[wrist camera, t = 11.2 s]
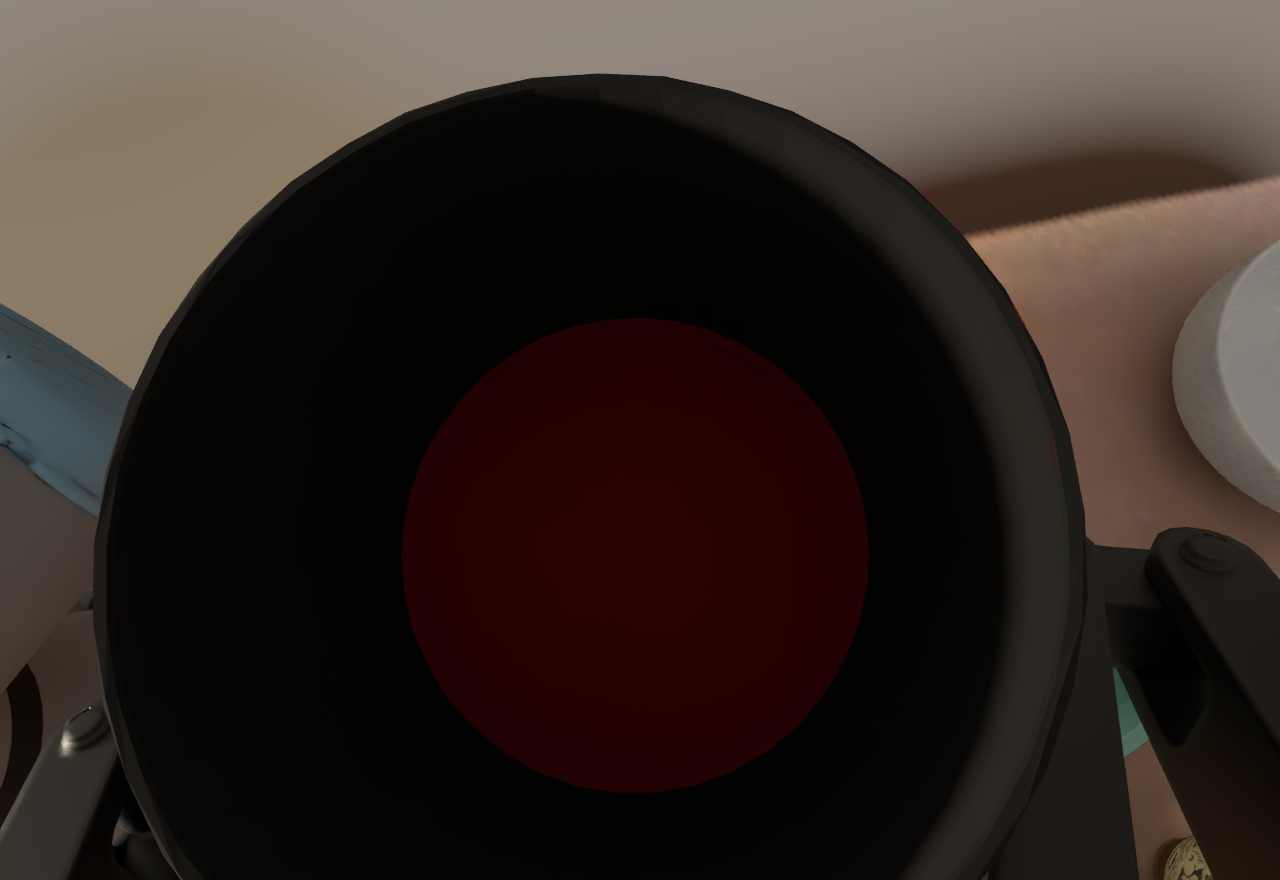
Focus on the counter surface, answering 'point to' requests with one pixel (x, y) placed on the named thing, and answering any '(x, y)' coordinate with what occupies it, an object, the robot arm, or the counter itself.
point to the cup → (1181, 861)
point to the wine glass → (591, 514)
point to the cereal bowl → (1235, 376)
